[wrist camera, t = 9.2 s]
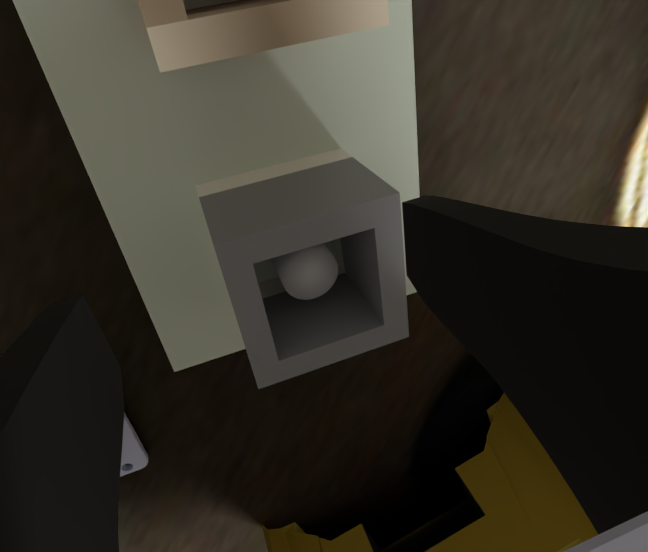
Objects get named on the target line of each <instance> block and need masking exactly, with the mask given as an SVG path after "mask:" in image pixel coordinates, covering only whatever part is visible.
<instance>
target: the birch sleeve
mask: <svg viewBox="0 0 648 552" xmlns="http://www.w3.org/2000/svg"><path fill="white" fill-rule="evenodd" d="M138 4H139V7H140V10H141V13H142V16H143V20H144V23H145V26H146V29H147V32H148V36H149V39H150V42H151V45H152V48H153V52H154V55H155V58H156V61H157V64H158V68H159V71H160V73H161V72H166V71H171V70H176V69H180V68H185V67H190V66H195V65H199V64H204V63H209V62H214V61H219V60H223V59H228V58H233V57H238V56H242V55H247V54H252V53H257V52H262V51H266V50H271V49H276V48H281V47H285V46H290V45H295V44H300V43H305V42H309V41H314V40H319V39H324V38H328V37H333V36H338V35H343V34H348V33H352V32H357V31H362V30H367V29H371V28H376V27H381V26H386V25H389V13H388V0H237V1H232V2H226V3H221V4H216V5H210V6H205V7H200V8H194V9H189V10H185V6H184V3H183V0H138Z"/></svg>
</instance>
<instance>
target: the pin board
mask: <svg viewBox="0 0 648 552" xmlns="http://www.w3.org/2000/svg"><path fill="white" fill-rule="evenodd" d="M12 1H13V3H14V5H15V7H16V10H17V12H18V14H19V17H20V19H21V21H22V24H23V26H24V28H25V30H26V33H27V35H28V37H29V40H30V42H31V44H32V46H33V49H34V51H35V53H36V56H37V58H38V60H39V63H40V65H41V67H42V69H43V72H44V74H45V76H46V79H47V81H48V83H49V85H50V88H51V90H52V92H53V95H54V97H55V99H56V102H57V104H58V106H59V108H60V111H61V113H62V115H63V118H64V120H65V122H66V124H67V127H68V129H69V131H70V134H71V136H72V138H73V141H74V143H75V145H76V147H77V150H78V152H79V154H80V157H81V159H82V161H83V163H84V166H85V168H86V170H87V173H88V175H89V177H90V180H91V182H92V184H93V186H94V189H95V191H96V193H97V196H98V198H99V200H100V203H101V205H102V207H103V209H104V212H105V214H106V216H107V219H108V221H109V223H110V225H111V228H112V230H113V232H114V235H115V237H116V239H117V242H118V244H119V246H120V248H121V251H122V253H123V255H124V258H125V260H126V262H127V264H128V267H129V269H130V271H131V274H132V276H133V278H134V281H135V283H136V285H137V287H138V290H139V292H140V294H141V297H142V299H143V301H144V303H145V306H146V308H147V310H148V313H149V315H150V317H151V320H152V322H153V324H154V326H155V329H156V331H157V333H158V336H159V338H160V340H161V342H162V345H163V347H164V349H165V352H166V354H167V356H168V359H169V361H170V363H171V365H172V368H173V370H174V372H176V371H179V370H183V369H186V368H189V367H192V366H195V365H198V364H201V363H204V362H207V361H210V360H213V359H216V358H219V357H222V356H225V355H228V354H231V353H234V352H237V351H240V350H243V349H246V348H245V345H244V341H243V338H242V335H241V332H240V329H239V325H238V322H237V319H236V316H235V313H234V309H233V306H232V303H231V300H230V297H229V293H228V290H227V287H226V284H225V281H224V278H223V274H222V271H221V268H220V265H219V262H218V258H217V255H216V252H215V249H214V246H213V242H212V239H211V236H210V232H209V229H208V226H207V223H206V219H205V216H204V213H203V209H202V206H201V203H200V200H199V196H198V193H197V190H196V185H200V184H204V183H208V182H211V181H215V180H219V179H223V178H227V177H231V176H235V175H239V174H242V173H246V172H250V171H254V170H258V169H262V168H266V167H270V166H274V165H277V164H281V163H285V162H289V161H293V160H297V159H301V158H305V157H308V156H312V155H316V154H320V153H324V152H328V151H332V150H336V149H339V148H342V149H343V150H344V151H345V152H347V153H348V154H349V155H351V156H352V157H353V158H355V159H356V160H357V161H359V162H360V163H361V164H363V165H364V166H365V167H367V168H368V169H369V170H370V171H372V172H373V173H374V174H376V175H377V176H378V177H380V178H381V179H382V180H384V181H385V182H386V183H388V184H389V185H390V186H392V187H393V188H394V189H396V190H397V191H398V192H399V193H400V205H401V220H402V235H403V251H404V266H405V281H406V295H409V294H412V293H415V292H417V291H416V289H415V288H414V286H413V284H412V283H411V281H410V280H409V278H408V277H407V273H406V258H405V242H404V226H403V210H402V202H405V201H408V200H412V199H415V198H419V197H420V194H419V170H418V146H417V122H416V97H415V73H414V49H413V25H412V0H388V13H389V25H386V26H381V27H376V28H371V29H367V30H362V31H357V32H352V33H348V34H343V35H338V36H333V37H328V38H324V39H319V40H314V41H309V42H305V43H300V44H295V45H290V46H285V47H281V48H276V49H271V50H266V51H262V52H257V53H252V54H247V55H242V56H238V57H233V58H228V59H223V60H219V61H214V62H209V63H204V64H199V65H195V66H190V67H185V68H180V69H176V70H171V71H166V72H161V73H160V71H159V68H158V64H157V61H156V58H155V55H154V52H153V48H152V45H151V42H150V39H149V36H148V32H147V29H146V26H145V23H144V20H143V16H142V13H141V10H140V7H139V4H138V0H12ZM232 1H237V0H183V3H184V6H185V10H189V9H194V8H200V7H205V6H210V5H216V4H221V3H226V2H232ZM253 266H254V270H255V274H256V278H257V281H258V283H260V282H263V281H267V280H270V279H273V278H276V277H279V278H280V280H281V282H282V284H283V286H284V288H285V290H286V291H287V292H288V293H289V294H290V295H291V296H293V297H295V298H297V299H302V300H309V299H314V298H317V297H319V296H321V295H323V294H324V293H326V292H327V291H328V290H329V289H330V288H331V287H332V286H333V284H334V283H335V281H336V278H337V275H338V265H337V261H336V259H335V254H334V248H333V242H332V241H328V242H325V243H322V244H318V245H315V246H312V247H308V248H305V249H302V250H298V251H295V252H291V253H288V254H285V255H281V256H278V257H275V258H271V259H268V260H264V261H261V262H258V263H254V264H253Z"/></svg>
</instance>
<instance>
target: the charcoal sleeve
mask: <svg viewBox="0 0 648 552" xmlns="http://www.w3.org/2000/svg"><path fill="white" fill-rule="evenodd" d="M196 190H197V193H198V196H199V200H200V203H201V206H202V209H203V213H204V216H205V219H206V223H207V226H208V229H209V232H210V236H211V239H212V242H213V246H214V249H215V252H216V255H217V258H218V262H219V265H220V268H221V271H222V274H223V278H224V281H225V284H226V287H227V290H228V293H229V297H230V300H231V303H232V306H233V309H234V313H235V316H236V319H237V322H238V325H239V329H240V332H241V335H242V338H243V341H244V345H245V348H246V351H247V354H248V357H249V361H250V364H251V367H252V370H253V373H254V377H255V380H256V383H257V386H258V389H261V388H264V387H267V386H270V385H272V384H275V383H278V382H281V381H284V380H287V379H290V378H292V377H295V376H298V375H301V374H304V373H307V372H310V371H313V370H315V369H318V368H321V367H324V366H327V365H330V364H333V363H335V362H338V361H341V360H344V359H347V358H350V357H353V356H355V355H358V354H361V353H364V352H367V351H370V350H373V349H375V348H378V347H381V346H384V345H387V344H390V343H393V342H396V341H398V340H401V339H404V338H407V337H409V327H408V312H407V297H406V281H405V266H404V251H403V235H402V220H401V205H400V193H399V192H398V191H397V190H396V189H394V188H393V187H392V186H390V185H389V184H388V183H386V182H385V181H384V180H382V179H381V178H380V177H378V176H377V175H376V174H374V173H373V172H372V171H370V170H369V169H368V168H367V167H365V166H364V165H363V164H361V163H360V162H359V161H357V160H356V159H355V158H353V157H352V156H351V155H349V154H348V153H347V152H345V151H344V150H343V149H342V148H339V149H336V150H332V151H328V152H324V153H320V154H316V155H312V156H308V157H305V158H301V159H297V160H293V161H289V162H285V163H281V164H277V165H274V166H270V167H266V168H262V169H258V170H254V171H250V172H246V173H242V174H239V175H235V176H231V177H227V178H223V179H219V180H215V181H211V182H208V183H204V184H200V185H196ZM328 241H332V242H333V248H334V254H335V259H336V261H337V265H338V275H337V278H336V281H335V283H334V284H333V286H332V287H331V288H330V289H329V290H328V291H327V292H326V293H324V294H323V295H321V296H319V297H317V298H314V299H309V300H302V299H297V298H295V297H293V296H291V295H290V294H289V293H288V292H287V291H286V290H285V288H284V286H283V284H282V282H281V280H280V278H279V277H276V278H273V279H270V280H267V281H263V282H260V283H258V281H257V278H256V274H255V270H254V266H253V264H254V263H258V262H261V261H264V260H268V259H271V258H275V257H278V256H281V255H285V254H288V253H291V252H295V251H298V250H302V249H305V248H308V247H312V246H315V245H318V244H322V243H325V242H328Z"/></svg>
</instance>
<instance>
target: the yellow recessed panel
mask: <svg viewBox="0 0 648 552" xmlns="http://www.w3.org/2000/svg"><path fill="white" fill-rule="evenodd" d="M487 413H488V417H489V420H490V423H491V426H490V428H489V431H488V434H487V436H486V437H485V439H484V440H483V442H482V443H481V444H480V446H479V448H478V449H477V450H476V452H475V453H474V455H473V457H472V458H471V459H469V460H468V461H466V462H465V463H463V464H461V465H460V466H458V467H456V468H455V470H456V473H457V475H458V477H459V479H458V480H457V481H456V483H455V484H454V486H453V488H452V489H451V491H450V492H449V493H448V495H447V496H446V498H445V499H444V500H443V502H442V503H441V504H440V506H439V507H438V508H437V509H436V511H435V512H434V513H433V514H432V515H431V516H430V518H429V519H428V520H427V521H426V522H425V523H424V524H423V525H422V526H421V527H420V528H418V529H416V530H415V531H413V532H411V533H409V534H408V535H406V536H404V537H403V538H401V539H399V540H398V541H396V542H394V543H393V544H391V545H389V546H388V547H386V548H384V549H383V550H381V549H380V548H379V546H378V545H377V544H376V542H375V541H374V540H373V538H372V537H371V536H370V534H369V533H368V532H367V530H366V529H365V528H364V526H363V525H362V523H361V524H360V525H358V526H356V527H354V528H353V529H351V530H349V531H347V532H346V533H344V534H342V535H340V536H339V537H337V538H335V539H333V540H332V541H329V540H326V539H323V538H320V537H318V536H316V535H310V534H306V533H305V532H304V531H303V530H302V529H301V528H300V527H299V526H298V525H297V524H296V523H295V522H294V523H292V524H290V525H287V526H285V527H283V528H280V529H267V528H266V527H265V526H264V525H263V524H262V527H263V531H264V535H265V540H266V544H267V548H268V552H563V551H566V550H568V549H570V548H572V547H574V546H576V545H578V544H580V543H582V542H584V541H586V540H589V539H591V538H593V537H595V536H597V535H598V533H597V531H596V530H595V528H594V526H593V525H592V523H591V521H590V520H589V518H588V517H587V515H586V513H585V512H584V510H583V508H582V507H581V505H580V503H579V502H578V500H577V498H576V497H575V495H574V494H573V492H572V490H571V489H570V487H569V486H568V484H567V483H566V481H565V480H564V478H563V477H562V475H561V474H560V472H559V470H558V469H557V467H556V466H555V464H554V463H553V461H552V460H551V458H550V457H549V455H548V454H547V452H546V450H545V449H544V448H543V446H542V445H541V443H540V442H539V440H538V439H537V438H536V436H535V435H534V433H533V432H532V430H531V429H530V427H529V426H528V425H527V423H526V422H525V420H524V419H523V417H522V416H521V415H520V413H519V412H518V411H517V409H516V408H515V406H514V405H513V404H512V402H511V401H510V400H509V398H508V397H507V396H506V394H505V393H504V394H503V395H502V397H501V398H500V400H499V401H498V402H497V403H495V404H494V405H493V406H491V407H490V408H489V409H487Z"/></svg>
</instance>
